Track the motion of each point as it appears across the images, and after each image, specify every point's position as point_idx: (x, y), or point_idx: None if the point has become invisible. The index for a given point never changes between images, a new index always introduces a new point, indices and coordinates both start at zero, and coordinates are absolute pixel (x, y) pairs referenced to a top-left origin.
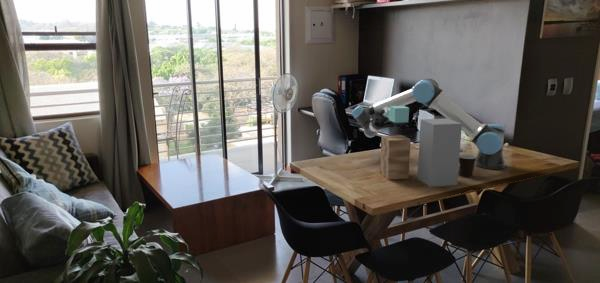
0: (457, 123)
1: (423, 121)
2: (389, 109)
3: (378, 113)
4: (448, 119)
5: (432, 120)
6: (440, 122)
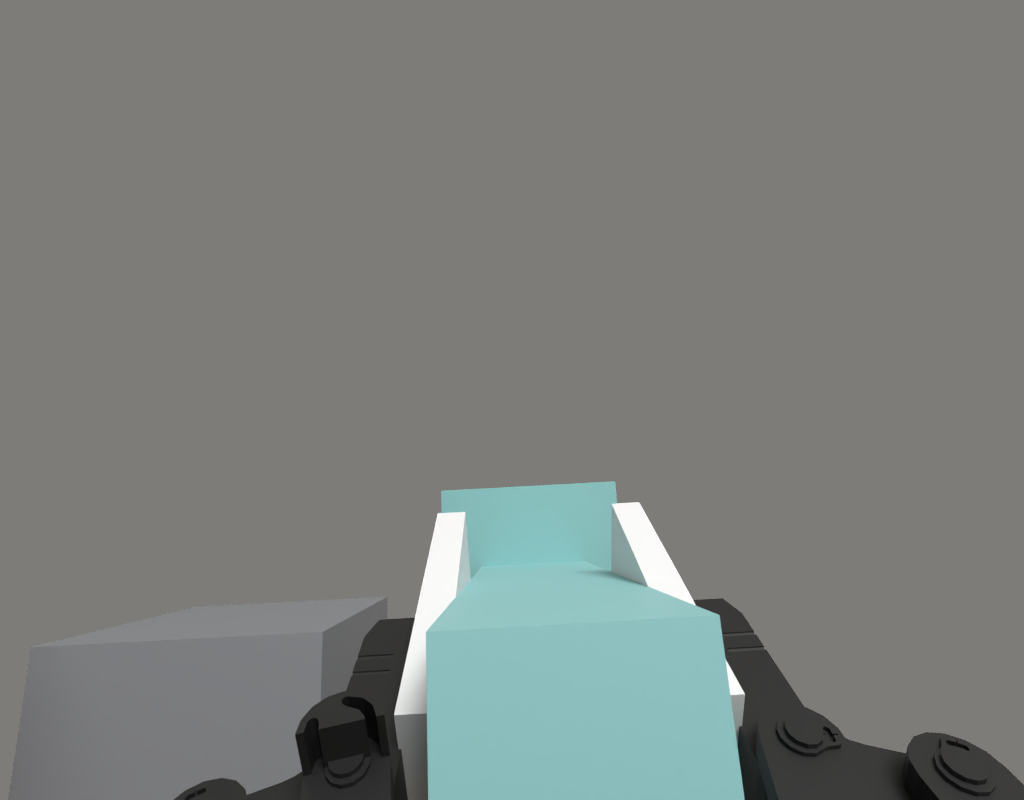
0: (218, 606)
1: (342, 629)
2: (571, 581)
3: (895, 780)
4: (93, 634)
5: (268, 623)
6: (286, 609)
